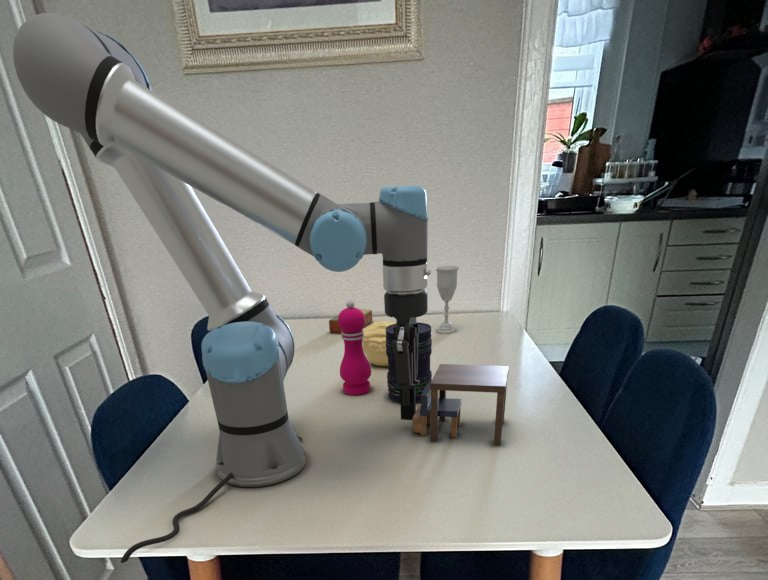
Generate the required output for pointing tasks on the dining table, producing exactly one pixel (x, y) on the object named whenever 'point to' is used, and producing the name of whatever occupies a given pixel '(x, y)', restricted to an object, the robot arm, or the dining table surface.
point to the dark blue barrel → (423, 362)
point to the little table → (469, 389)
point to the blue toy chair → (444, 410)
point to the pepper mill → (353, 351)
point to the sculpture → (376, 342)
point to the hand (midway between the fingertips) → (408, 418)
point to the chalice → (446, 291)
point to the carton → (336, 329)
